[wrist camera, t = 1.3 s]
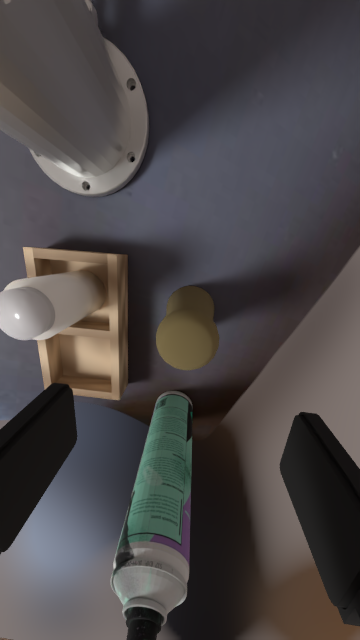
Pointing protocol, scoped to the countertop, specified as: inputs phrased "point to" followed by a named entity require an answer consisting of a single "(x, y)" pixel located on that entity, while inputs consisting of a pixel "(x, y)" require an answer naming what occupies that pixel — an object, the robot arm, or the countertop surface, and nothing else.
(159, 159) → the countertop surface
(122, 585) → the spray can
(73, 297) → the salt shaker
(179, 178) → the countertop surface
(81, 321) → the caddy
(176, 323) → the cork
